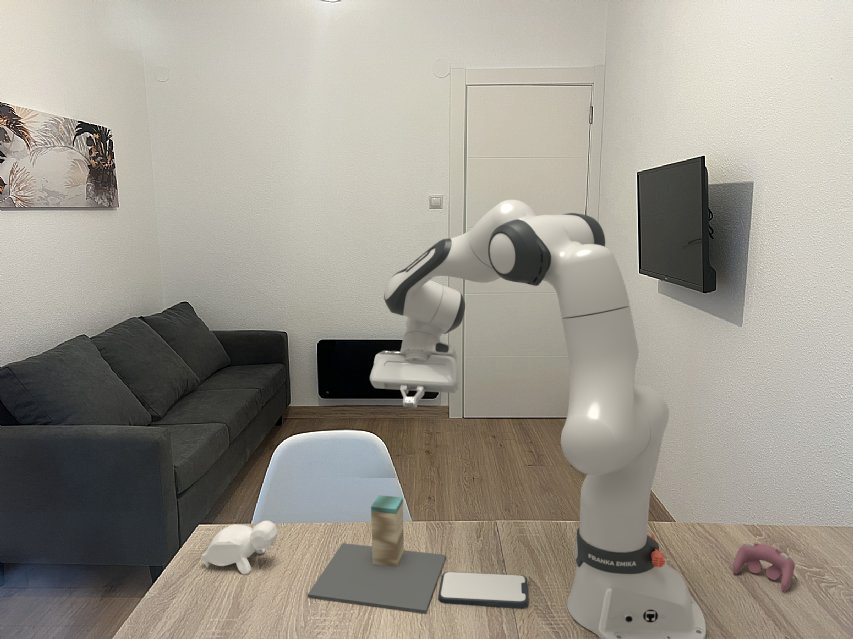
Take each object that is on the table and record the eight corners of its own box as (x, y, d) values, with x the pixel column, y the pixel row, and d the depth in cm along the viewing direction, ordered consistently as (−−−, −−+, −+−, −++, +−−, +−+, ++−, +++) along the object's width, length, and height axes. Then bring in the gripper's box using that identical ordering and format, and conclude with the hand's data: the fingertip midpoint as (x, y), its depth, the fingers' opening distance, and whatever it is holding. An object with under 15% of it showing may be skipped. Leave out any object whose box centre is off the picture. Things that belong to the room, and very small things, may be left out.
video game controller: (792, 593, 117) (799, 555, 118) (787, 593, 114) (795, 554, 115) (735, 573, 123) (742, 537, 125) (729, 572, 120) (737, 535, 121)
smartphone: (437, 606, 113) (528, 611, 111) (437, 598, 112) (528, 603, 110) (442, 578, 121) (527, 582, 119) (442, 570, 121) (527, 574, 119)
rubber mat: (446, 557, 127) (446, 555, 127) (425, 613, 110) (425, 610, 110) (342, 545, 132) (342, 543, 132) (307, 597, 115) (307, 594, 114)
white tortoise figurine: (210, 586, 123) (276, 565, 120) (191, 548, 123) (258, 526, 119) (229, 562, 132) (292, 542, 129) (213, 526, 131) (275, 505, 128)
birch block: (403, 552, 128) (402, 497, 126) (397, 566, 123) (396, 509, 121) (380, 550, 129) (378, 495, 127) (372, 563, 124) (371, 506, 122)
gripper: (373, 343, 146) (360, 396, 139) (460, 347, 142) (452, 402, 134) (379, 357, 151) (367, 409, 144) (463, 361, 147) (456, 415, 139)
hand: (409, 406), depth 139 cm, fingers closed
